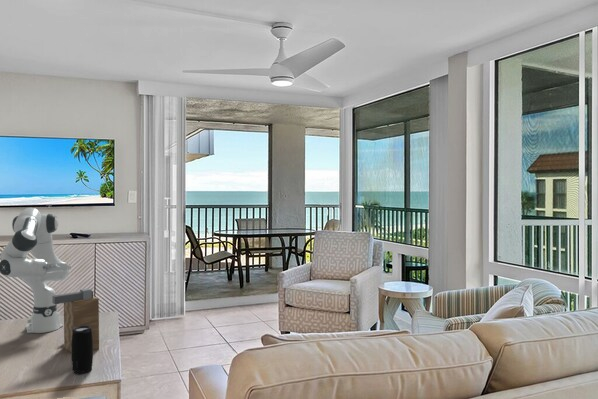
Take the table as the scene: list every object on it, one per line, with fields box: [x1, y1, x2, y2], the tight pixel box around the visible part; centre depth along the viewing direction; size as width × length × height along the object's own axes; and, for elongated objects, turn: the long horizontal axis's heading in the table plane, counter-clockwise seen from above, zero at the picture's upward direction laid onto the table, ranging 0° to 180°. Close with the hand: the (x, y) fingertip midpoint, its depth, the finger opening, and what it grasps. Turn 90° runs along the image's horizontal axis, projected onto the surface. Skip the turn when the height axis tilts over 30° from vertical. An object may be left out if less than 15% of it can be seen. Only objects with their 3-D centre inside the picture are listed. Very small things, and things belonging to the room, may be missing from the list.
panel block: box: [63, 295, 100, 354], centre depth 236 cm, size 15×12×26 cm
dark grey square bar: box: [52, 288, 94, 305], centre depth 229 cm, size 5×18×5 cm, turn 134°
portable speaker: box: [71, 325, 94, 375], centre depth 207 cm, size 9×9×20 cm
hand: (63, 268), depth 232 cm, fingers open, 8 cm apart
